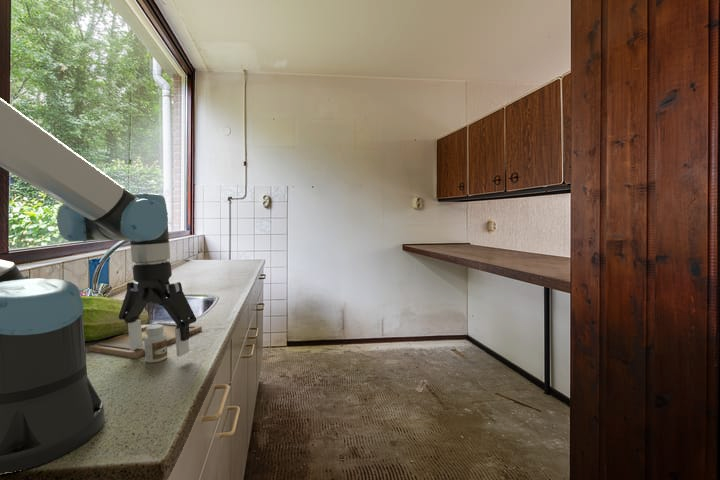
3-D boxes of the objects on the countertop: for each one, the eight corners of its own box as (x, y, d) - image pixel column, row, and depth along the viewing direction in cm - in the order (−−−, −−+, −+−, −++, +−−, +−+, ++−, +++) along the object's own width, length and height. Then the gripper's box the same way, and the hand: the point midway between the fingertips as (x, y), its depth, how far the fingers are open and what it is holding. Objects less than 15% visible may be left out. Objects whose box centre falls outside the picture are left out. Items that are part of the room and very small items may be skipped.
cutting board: (136, 358, 80) (136, 351, 80) (89, 350, 85) (89, 344, 85) (201, 330, 98) (201, 325, 98) (160, 325, 104) (159, 320, 104)
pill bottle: (157, 363, 76) (155, 330, 76) (140, 362, 77) (138, 329, 77) (171, 355, 81) (170, 324, 80) (156, 354, 82) (154, 323, 81)
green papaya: (149, 318, 93) (151, 284, 102) (41, 323, 81) (54, 284, 90) (146, 349, 98) (148, 314, 108) (45, 359, 87) (56, 319, 96)
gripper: (208, 260, 77) (215, 349, 79) (126, 259, 85) (134, 340, 87) (182, 265, 70) (189, 363, 72) (95, 263, 78) (103, 352, 80)
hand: (159, 352), depth 79 cm, fingers open, 13 cm apart
